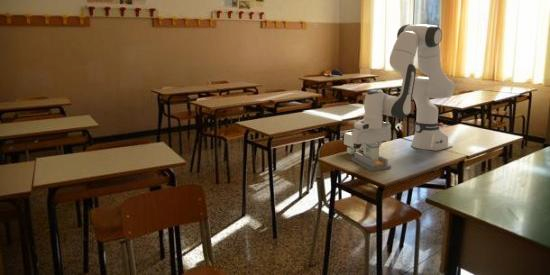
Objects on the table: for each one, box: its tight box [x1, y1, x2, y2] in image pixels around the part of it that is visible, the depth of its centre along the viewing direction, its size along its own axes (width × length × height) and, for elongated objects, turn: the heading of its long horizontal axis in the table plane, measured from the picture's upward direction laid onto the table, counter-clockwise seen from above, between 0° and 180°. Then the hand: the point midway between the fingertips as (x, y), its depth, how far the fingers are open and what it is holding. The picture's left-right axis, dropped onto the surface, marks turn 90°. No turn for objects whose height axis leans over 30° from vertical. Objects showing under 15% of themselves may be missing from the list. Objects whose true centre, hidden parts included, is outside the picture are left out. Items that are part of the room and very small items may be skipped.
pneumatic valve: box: [341, 131, 362, 155], centre depth 220 cm, size 6×12×12 cm, turn 31°
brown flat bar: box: [375, 160, 384, 166], centre depth 203 cm, size 5×14×1 cm, turn 20°
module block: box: [363, 143, 380, 161], centre depth 202 cm, size 4×7×8 cm, turn 20°
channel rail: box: [350, 151, 392, 172], centre depth 203 cm, size 11×18×4 cm, turn 20°
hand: (371, 150), depth 202 cm, fingers open, 5 cm apart
